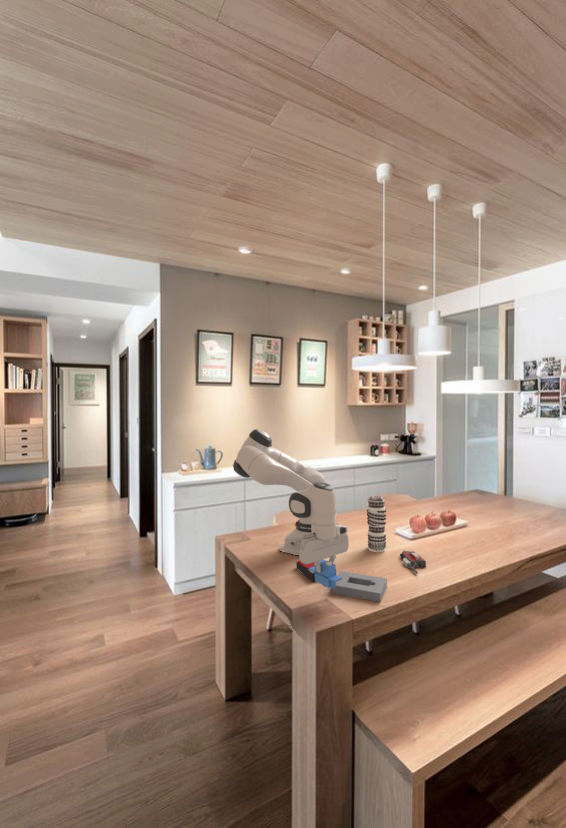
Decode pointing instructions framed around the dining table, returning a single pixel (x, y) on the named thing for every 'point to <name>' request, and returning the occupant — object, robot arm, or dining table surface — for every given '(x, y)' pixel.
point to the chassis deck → (360, 586)
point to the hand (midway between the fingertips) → (324, 569)
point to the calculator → (306, 570)
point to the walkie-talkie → (412, 560)
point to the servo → (326, 574)
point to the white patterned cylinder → (376, 524)
